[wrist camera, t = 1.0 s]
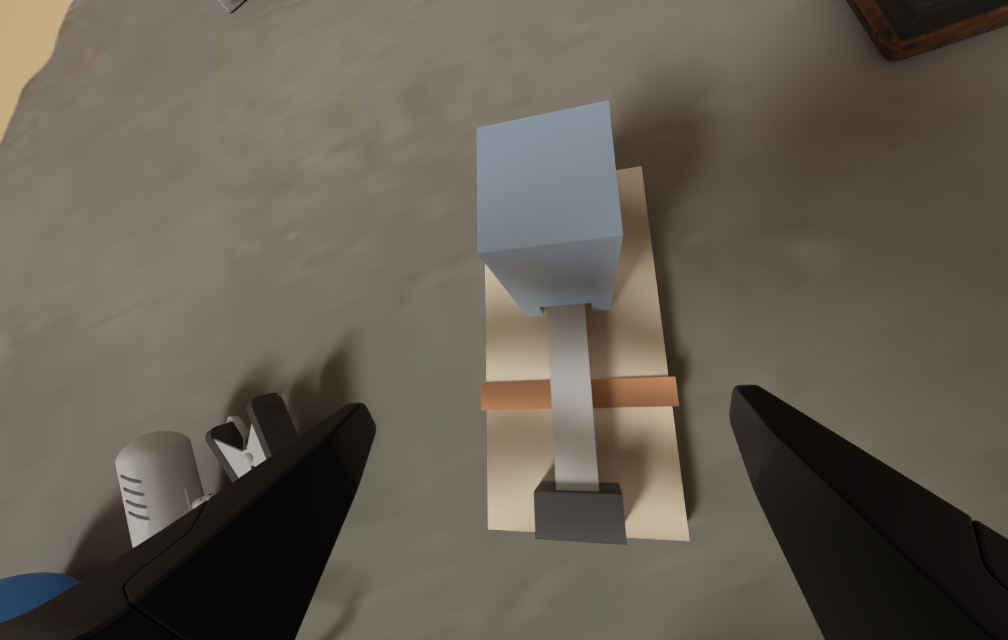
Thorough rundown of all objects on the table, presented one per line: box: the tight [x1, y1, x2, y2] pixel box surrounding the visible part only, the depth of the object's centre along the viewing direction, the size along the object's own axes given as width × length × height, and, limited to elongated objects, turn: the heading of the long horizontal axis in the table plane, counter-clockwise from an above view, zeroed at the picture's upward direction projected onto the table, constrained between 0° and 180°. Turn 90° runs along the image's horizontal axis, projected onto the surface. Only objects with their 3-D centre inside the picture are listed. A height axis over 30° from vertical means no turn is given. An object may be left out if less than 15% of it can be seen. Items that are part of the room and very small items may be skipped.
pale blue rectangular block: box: [477, 101, 623, 317], centre depth 17 cm, size 5×5×9 cm
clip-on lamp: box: [115, 393, 298, 548], centre depth 21 cm, size 12×6×18 cm
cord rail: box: [481, 166, 689, 545], centre depth 20 cm, size 20×11×4 cm, turn 1°
